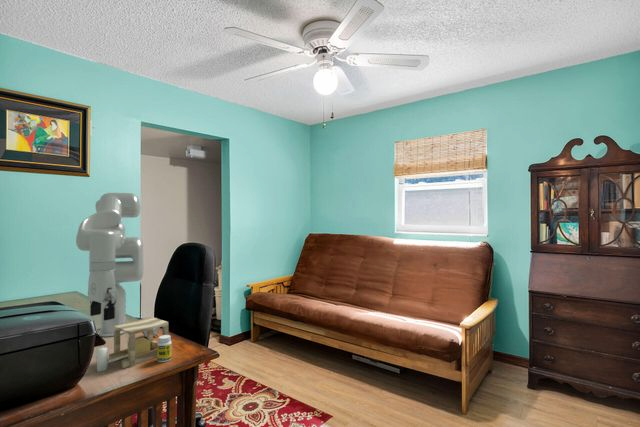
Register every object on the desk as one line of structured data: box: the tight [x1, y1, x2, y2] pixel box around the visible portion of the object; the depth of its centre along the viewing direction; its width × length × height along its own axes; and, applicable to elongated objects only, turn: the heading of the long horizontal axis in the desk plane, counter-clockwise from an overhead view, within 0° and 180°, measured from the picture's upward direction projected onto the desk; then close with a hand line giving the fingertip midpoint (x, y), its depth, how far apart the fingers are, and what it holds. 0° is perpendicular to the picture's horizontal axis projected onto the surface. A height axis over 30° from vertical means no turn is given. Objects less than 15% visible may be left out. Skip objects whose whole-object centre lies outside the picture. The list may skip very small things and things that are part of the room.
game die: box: [141, 316, 161, 339], centre depth 149 cm, size 9×8×10 cm
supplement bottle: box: [156, 334, 173, 363], centre depth 125 cm, size 5×5×8 cm
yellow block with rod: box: [96, 336, 151, 373], centre depth 123 cm, size 6×17×7 cm, turn 145°
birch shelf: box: [108, 316, 169, 370], centre depth 127 cm, size 12×16×12 cm
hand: (102, 317), depth 117 cm, fingers open, 9 cm apart
